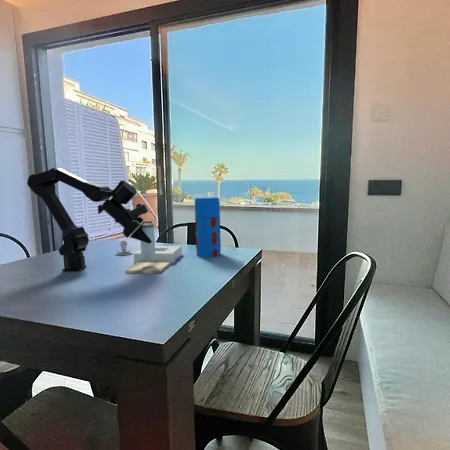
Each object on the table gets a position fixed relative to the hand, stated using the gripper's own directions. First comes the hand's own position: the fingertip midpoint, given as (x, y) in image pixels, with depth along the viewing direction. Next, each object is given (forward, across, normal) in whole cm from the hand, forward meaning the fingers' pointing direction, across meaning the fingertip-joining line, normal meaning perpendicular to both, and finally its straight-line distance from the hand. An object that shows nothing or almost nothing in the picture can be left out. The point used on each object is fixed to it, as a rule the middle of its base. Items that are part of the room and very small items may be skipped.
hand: (151, 241), depth 122 cm
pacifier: (-3, +30, +18) cm, 35 cm away
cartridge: (+4, 0, +6) cm, 7 cm away
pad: (+6, 0, +8) cm, 10 cm away
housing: (+9, +16, +6) cm, 19 cm away
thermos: (+24, +18, -9) cm, 31 cm away
